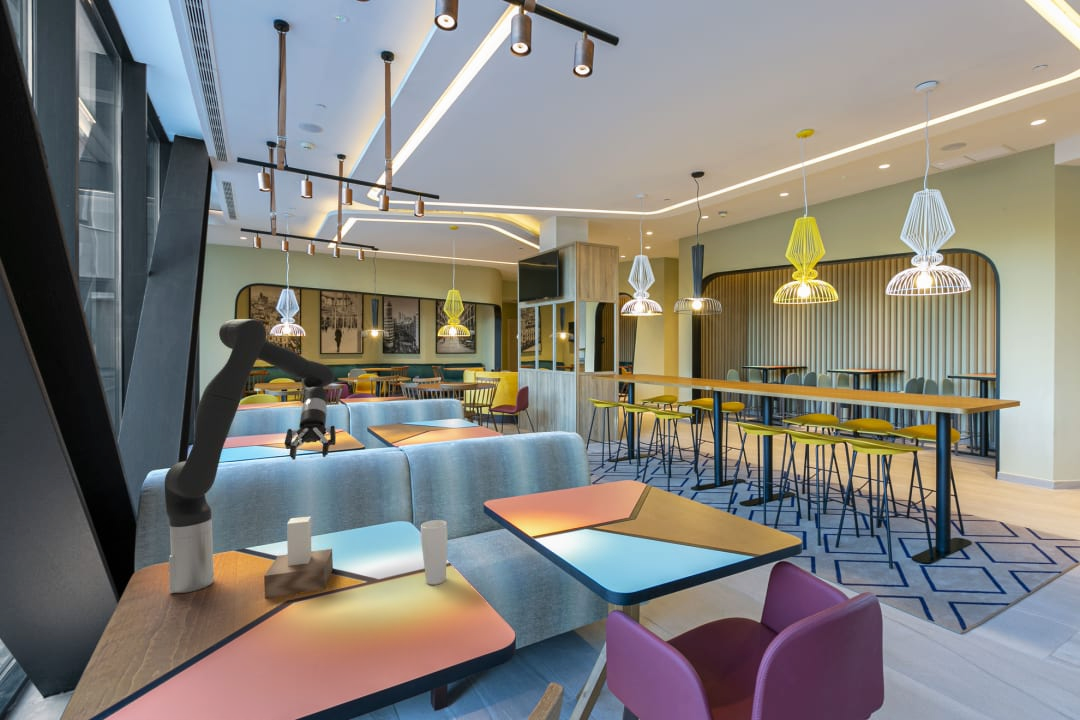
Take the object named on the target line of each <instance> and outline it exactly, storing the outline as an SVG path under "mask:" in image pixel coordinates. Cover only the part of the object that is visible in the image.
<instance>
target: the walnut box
mask: <svg viewBox="0 0 1080 720" xmlns="http://www.w3.org/2000/svg"><path fill="white" fill-rule="evenodd" d="M333 565H334V564H333V548H328V549H327V548H326V549H321V550H311V559H310V561H309V563H307V564H299V565H291V566H288V553H287V554H282V555H281V554H279V555H277V557H276V558H275V559H274V561H273V562H272V564H271V565H270V567H269V568H268V570H267V571H266V573H264V575H263V580H264V581H263V582H264V599H268V598H269V599H270V598H275V597H283V596H288V595H295V593H297V594H301V592H304V593H309V592H308V591H310V592H314V591H315V590H317V591H323V590H326V587H327V585H328V582H329V580H330V577H331V575H332V572H333V569H334V566H333Z"/></svg>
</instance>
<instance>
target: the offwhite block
mask: <svg viewBox="0 0 1080 720" xmlns="http://www.w3.org/2000/svg"><path fill="white" fill-rule="evenodd" d="M286 531H287V532H286V534H287V537H286V539H287V542H286V543H287V544H286V545H287V554H288V566H291V565H299V564H307V563H309V561H310V559H311V551H312V517H311V516H300V517H292V518H290V519H289V520H288V522H287V524H286Z"/></svg>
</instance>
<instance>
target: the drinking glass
mask: <svg viewBox="0 0 1080 720" xmlns="http://www.w3.org/2000/svg"><path fill="white" fill-rule="evenodd" d="M420 543H421V544H420V545H421V552H422V558H423V565H424V567H423V568H424V574H425V575H424V576H425V582H426V584H428V585H430V586H431V585H433V586H435V585H436V586H437V585H440V584H442V583H444V582H446V580H447V559H448V558H447V556H448V555H447V554H448V524H447V521H445V520H443V519H442V520H440V519H436V520H435V519H434V520H428V521H425V522H423V523H421V525H420Z"/></svg>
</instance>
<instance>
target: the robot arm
mask: <svg viewBox="0 0 1080 720" xmlns="http://www.w3.org/2000/svg"><path fill="white" fill-rule="evenodd" d="M218 335H219V340H220V342H221V343H222V344H223V345H224V346H225V347H227V348H229V349H232V350H231V352H230V355H229V358H228V359H227V360H226V363H225V364H224V366H223V367H222V368H221V369H220V370H219V371H218V373H217V374H216V375H214V376H213V378H212V379H211V380H210V382H209V383H208V384H207V386H206V387H205V389H204V391H203V393H202V395H201V397H200V401H199V403H198V406H197V410H196V413H195V419H194V420H195V425H194V439H193V443H192V447H191V450H190V451H189V454H188V457H187V459H186V460H185V461H180V462H177V463H176V464H173V466H171V467H170V468H169V469H168V470H167V472H166V475H165V477H164V497H165V499H164V500H165V509H166V511H165V512H166V515H167V516H168V519H169V536H170V537H169V538H170V555H169V556H168V572H169V575H168V579H169V594H170V595H171V594H184V593H185V594H186V593H191V592H195V591H199V590H201V589H204V588H207V587H209V586H210V585H212V584H213V583H214V581H215V578H214V576H215V573H214V551H213V550H214V549H213V547H214V546H213V527H212V525H213V523H212V522H213V521H212V520H213V519H212V509H211V507H210V505H209V504H208V502H207V499H206V495H207V493H208V492H209V491H210V490H211V488H212V487H213V485H214V484H215V481H216V477H217V473H218V468H219V464H220V460H221V456H222V451H223V449H224V445H225V443H226V440H227V438H228V436H229V433H230V429H231V426H232V424H233V421H234V419H235V416H236V414H237V411H238V408H239V406H240V403H241V400H242V397H243V394H244V390H245V388H246V385H247V383H248V380H249V377H250V375H251V372H252V370H253V368H254V365H255V363H256V362H257V359H259V360H261V361H262V362H265V363H267V364H269V365H270V366H273V367H275V368H277V369H278V370H281V371H282V372H284V373H285V374H287V375H289V376H290V377H293V378H295V379H297V380H301V385H302V390H303V395H304V398H303V405H302V407H301V411H300V412H301V414H300V418H299V419H300V420H299V427H298V429H297V430H293V429H292V428H288V429H287V431H286V436H285V438H284V446H285V449H286V450H289V458H290V459H292V461H293V460H294V461H296V459H297V458H296V457H297V449H298V448H299V447H302V446H303V445H304V444H309V443H317V442H319V443H320V444H321V445H322V450H321V451H322V452H321V453H322V457H323V458H325V457H326V456H328V455H329V449H330V446H335V445H336V444H337V442H336V441H337V440H336V428H335V425H331V426H330V427H326V422H327V416H328V408H327V403H328V391H327V390H326V389H325V387H327V386H329V385H331V384H332V383H333V382H334V380H335V378H336V377H335V373H334V371H333V369H331V367H329V366H328V365H326V364H323V363H320V362H317V361H314V360H309V359H306V358H305V357H303V356H302V355H300V354H298V353H296V352H295V351H293V350H291V349H289V348H285V347H283V346H280V345H277V344H275V343H272V342H270V341H268V340H266V339H267V329H266V326H265V325H264V324H263V323H262V321H260V320H258V319H253V318H252V319H251V318H237V319H230V320H228V321H225V322H224V323H223V324H222V325H221V326H220V327H219V332H218ZM326 434H328V435H330V436H329V437H330V439H327V437H326ZM294 438H295V439H294ZM293 439H294V440H293Z"/></svg>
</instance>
